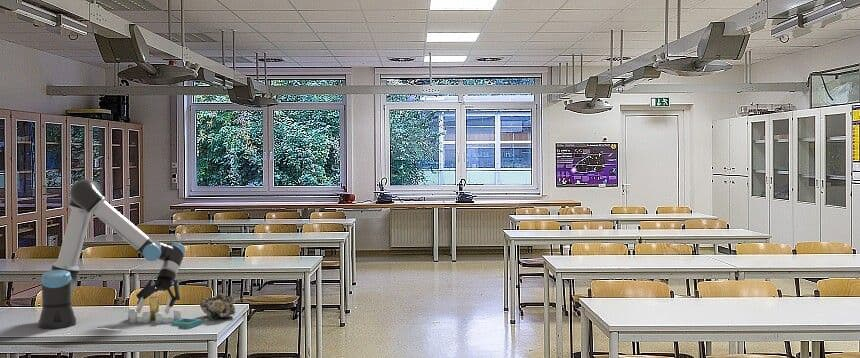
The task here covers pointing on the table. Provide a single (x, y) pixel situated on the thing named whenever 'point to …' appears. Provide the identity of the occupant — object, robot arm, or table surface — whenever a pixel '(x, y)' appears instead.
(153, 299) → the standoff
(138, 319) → the board
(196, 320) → the tray
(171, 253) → the robot arm
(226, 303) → the mineral specimen
